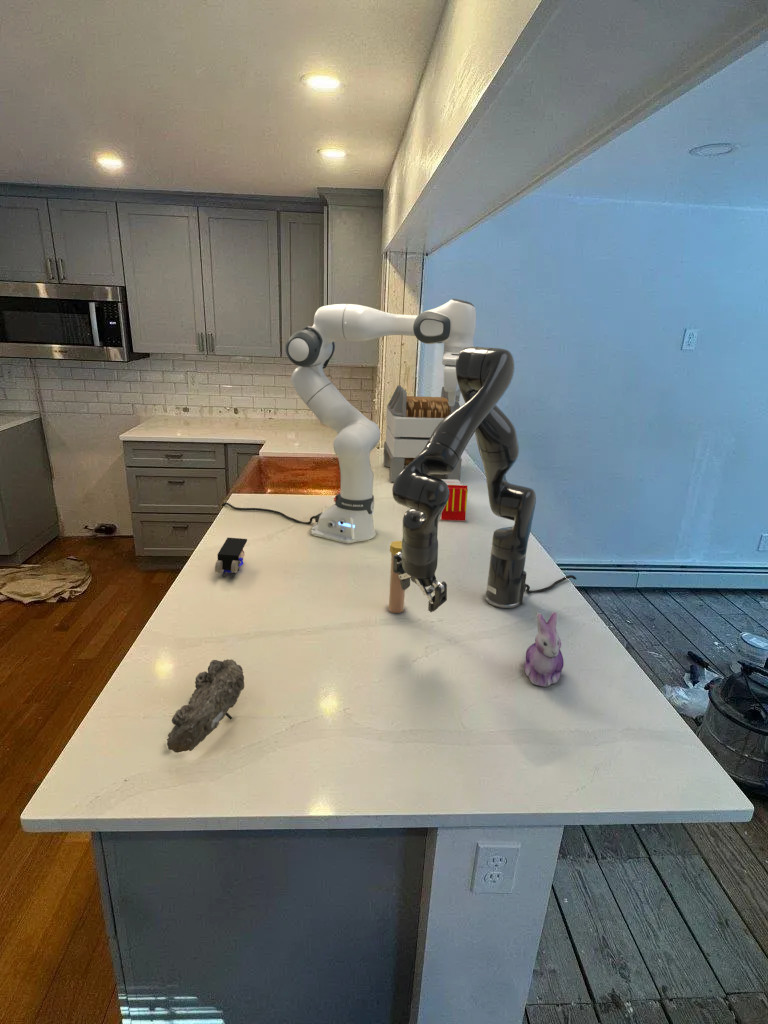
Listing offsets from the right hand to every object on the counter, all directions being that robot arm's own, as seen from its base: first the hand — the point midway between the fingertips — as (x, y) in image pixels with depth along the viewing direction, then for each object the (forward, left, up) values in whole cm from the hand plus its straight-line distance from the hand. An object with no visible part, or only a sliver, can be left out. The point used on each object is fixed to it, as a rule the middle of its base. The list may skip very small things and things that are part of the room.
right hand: (418, 598), depth 129 cm
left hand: (-26, -56, +35) cm, 71 cm away
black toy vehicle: (+42, -48, -13) cm, 65 cm away
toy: (-41, -93, -13) cm, 102 cm away
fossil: (+45, +16, -13) cm, 50 cm away
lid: (0, -18, +5) cm, 19 cm away
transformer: (-45, -144, -13) cm, 151 cm away
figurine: (-25, +15, -13) cm, 32 cm away
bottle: (0, -18, -13) cm, 22 cm away
